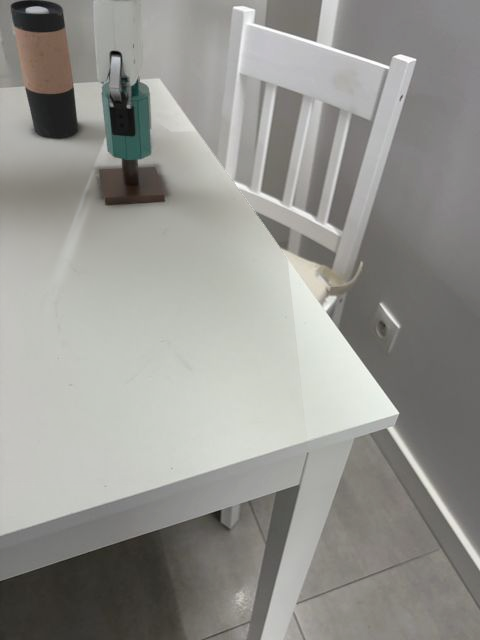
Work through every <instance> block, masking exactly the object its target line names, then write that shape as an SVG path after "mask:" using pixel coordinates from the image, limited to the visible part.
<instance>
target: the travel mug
mask: <svg viewBox="0 0 480 640" xmlns="http://www.w3.org/2000/svg"><path fill="white" fill-rule="evenodd" d="M9 6H10V8H9V9H10V13H11V19H12V25H13V29H14V35H15V40H16V45H17V50H18V56H19V57H18V58H19V63H20V68H21V72H22V73H21V74H22V78H23V85H24V90H25V93H26V97H27V102H28V106H29V111H30V115H31V120H32V124H33V127H34V132H35V134H37V135H38V136H39V137H41V138H46V139H52V140H58V139H67V138H71V137H73V136H75V135H76V134H77V133H78V131H79V126H78V115H77V107H76V97H75V96H76V95H75V85H74V78H73V72H72V64H71V58H70V51H69V50H70V49H69V44H68V37H67V36H68V35H67V30H66V29H67V28H66V21H65V16H64V7H63V6H62V5H61V4H59V3H57V2H53V1H50V0H18V1H14V2H12V3H11V4H10V5H9Z"/></svg>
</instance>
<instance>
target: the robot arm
mask: <svg viewBox="0 0 480 640" xmlns="http://www.w3.org/2000/svg"><path fill="white" fill-rule="evenodd" d="M92 7H93V8H92V9H93V11H92V12H93V13H92V14H93V35H94V48H95V50H94V52H95V65H96V78H97V81H98V83H99V84H101V85H103V84H105V83H106V82H109V103H110V106H109V107H110V118H111V128H112V134H113V135H119V136H131V137H133V136H135V134H136V130H135V115H134V107H133V106H132V86H133V85H134V84H135V83H136V81H139V82H141V80H140V79H141V78H140V77H141V76H140V73H141V69H142V67H143V59H144V58H143V56H144V55H143V54H144V53H143V52H144V51H143V48H144V47H143V26H142V25H143V23H142V21H143V20H142V4H141V0H93V6H92ZM121 79H127V82H121ZM122 88H126V95H125V93H124V92H122Z"/></svg>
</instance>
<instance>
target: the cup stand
mask: <svg viewBox="0 0 480 640" xmlns="http://www.w3.org/2000/svg"><path fill="white" fill-rule="evenodd" d="M98 172H99V173H98V175H99V180H100V184H101V190H102V195H103V200H104V205H105V206H109V205H110V206H111V205H126V204H143V203H161V202H165V201H166V195H165V192H164V189H163V185H162V182H161V179H160V176H159V173H158V171H157V168H156V166H142V167H139V159H138V160H124V159H121V167H117V168H115V167H114V168H99V169H98Z"/></svg>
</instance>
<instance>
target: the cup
mask: <svg viewBox="0 0 480 640" xmlns="http://www.w3.org/2000/svg"><path fill="white" fill-rule="evenodd" d="M121 82H127V79H121ZM122 92H124V93H125V95H126V88H122ZM101 103H102V112H103V122H104V131H105V138H106V139H105V141H106V149H107V152H108V154H110V155H111V156H112V157H113V158H115V159H120V160H122V159H124V160H138V161H139V160H142V159H145V158H146V157H149V156H151V155H152V151H153V129H152V106H151V91H150V87H149V86H148V85H147V84H146V83H144V82H142V81H140V82H139V81H136V83H135V84H134V85H133V86H132V106H133V107H134V115H135V130H136V134H135V136H133V137H131V136H119V135H113V134H112V128H111V118H110V107H109V106H110V103H109V81H106V82H104V84H102V85H101Z"/></svg>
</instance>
